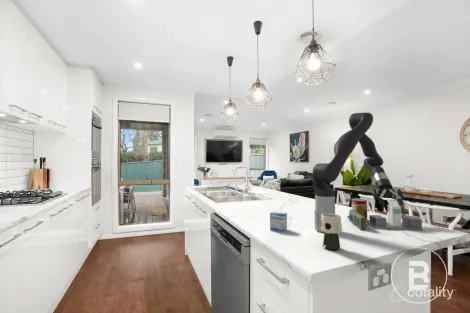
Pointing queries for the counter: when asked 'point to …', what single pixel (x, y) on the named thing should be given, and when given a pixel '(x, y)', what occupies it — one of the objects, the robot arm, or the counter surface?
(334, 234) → the character mug
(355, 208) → the canned food
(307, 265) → the counter surface
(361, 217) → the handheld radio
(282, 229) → the medicine box
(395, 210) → the block
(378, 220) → the grey stepped block
